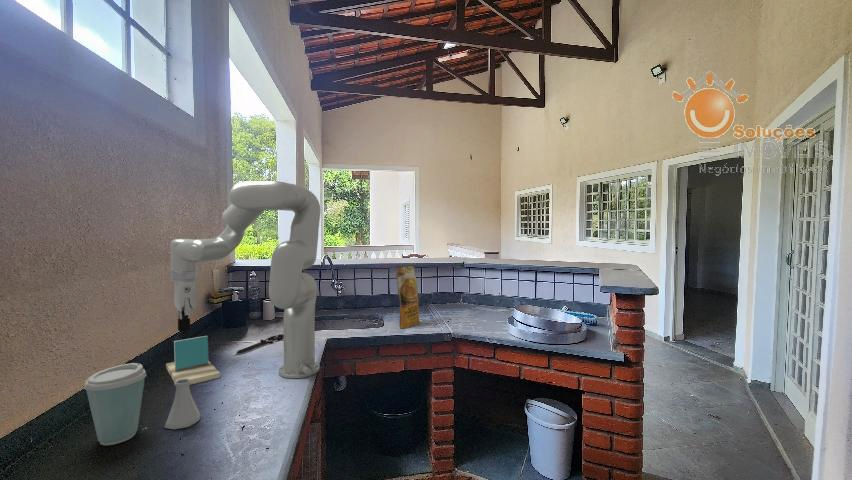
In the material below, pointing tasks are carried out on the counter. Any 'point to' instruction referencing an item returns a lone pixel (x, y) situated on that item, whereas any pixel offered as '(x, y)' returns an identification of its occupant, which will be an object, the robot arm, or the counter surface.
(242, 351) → the knife
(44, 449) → the counter surface
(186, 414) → the flask
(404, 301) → the pancake mix bag
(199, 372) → the board
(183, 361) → the tile
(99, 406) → the disposable coffee cup
